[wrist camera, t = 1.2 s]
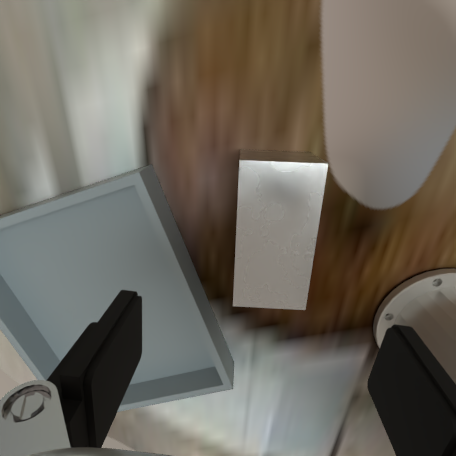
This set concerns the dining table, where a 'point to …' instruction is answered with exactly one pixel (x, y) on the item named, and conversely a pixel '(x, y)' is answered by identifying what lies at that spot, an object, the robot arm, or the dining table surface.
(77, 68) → the dining table surface
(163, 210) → the tray
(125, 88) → the dining table surface
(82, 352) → the robot arm
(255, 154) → the silver metal block
